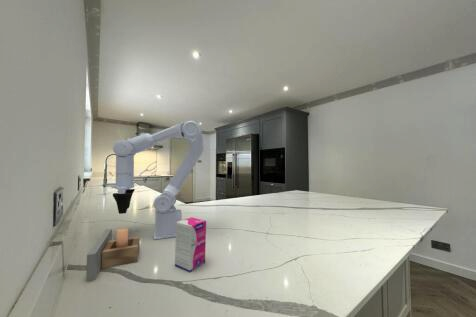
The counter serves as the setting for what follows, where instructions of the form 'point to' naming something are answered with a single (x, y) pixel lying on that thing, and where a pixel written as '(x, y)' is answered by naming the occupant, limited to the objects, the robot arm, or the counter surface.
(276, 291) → the counter surface
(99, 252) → the wall
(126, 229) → the dowel
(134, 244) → the socket block
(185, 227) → the supplement box
